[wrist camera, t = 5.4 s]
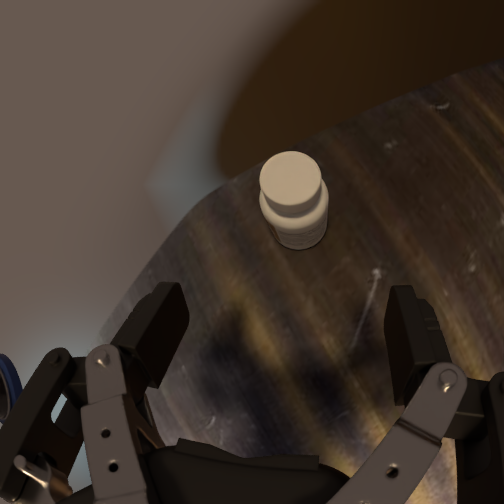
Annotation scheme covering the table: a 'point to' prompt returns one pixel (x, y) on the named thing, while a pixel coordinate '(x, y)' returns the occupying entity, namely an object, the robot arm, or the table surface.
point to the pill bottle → (294, 199)
